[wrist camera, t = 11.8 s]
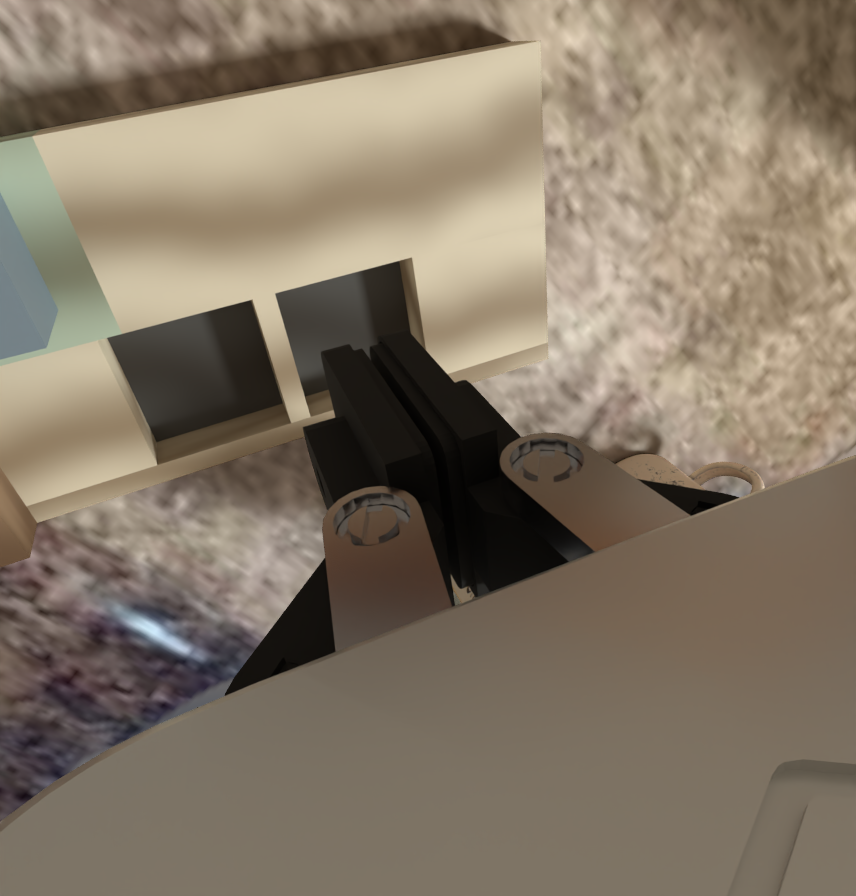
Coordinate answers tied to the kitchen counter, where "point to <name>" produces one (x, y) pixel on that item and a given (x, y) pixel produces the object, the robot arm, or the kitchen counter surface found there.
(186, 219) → the board
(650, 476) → the teacup with lid
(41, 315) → the slate block
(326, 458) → the robot arm
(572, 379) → the kitchen counter surface
